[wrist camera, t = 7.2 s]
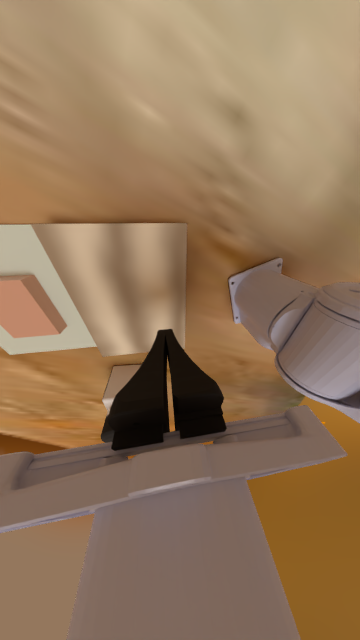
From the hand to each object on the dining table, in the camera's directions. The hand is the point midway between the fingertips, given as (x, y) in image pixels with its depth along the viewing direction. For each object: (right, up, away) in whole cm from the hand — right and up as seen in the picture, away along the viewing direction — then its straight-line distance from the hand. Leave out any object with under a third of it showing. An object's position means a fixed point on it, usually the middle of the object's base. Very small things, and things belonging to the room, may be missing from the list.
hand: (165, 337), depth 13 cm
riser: (-5, +5, +7) cm, 10 cm away
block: (-19, +3, +4) cm, 20 cm away
